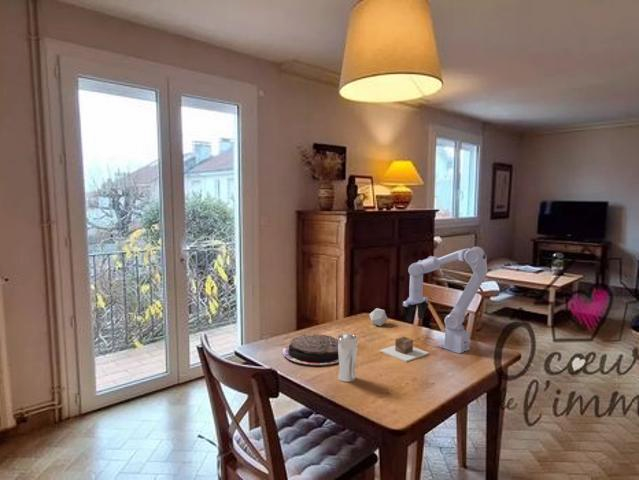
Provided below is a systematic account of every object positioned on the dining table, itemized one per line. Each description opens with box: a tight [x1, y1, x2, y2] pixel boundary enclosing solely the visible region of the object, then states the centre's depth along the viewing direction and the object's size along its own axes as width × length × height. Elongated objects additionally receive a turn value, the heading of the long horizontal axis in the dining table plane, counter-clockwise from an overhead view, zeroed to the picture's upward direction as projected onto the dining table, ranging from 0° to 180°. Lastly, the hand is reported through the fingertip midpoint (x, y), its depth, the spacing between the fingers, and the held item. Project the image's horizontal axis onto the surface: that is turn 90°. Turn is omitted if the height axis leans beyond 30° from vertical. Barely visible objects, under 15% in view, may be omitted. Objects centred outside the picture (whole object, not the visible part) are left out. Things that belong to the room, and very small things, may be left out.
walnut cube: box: [394, 336, 414, 354], centre depth 172 cm, size 5×5×5 cm
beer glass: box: [337, 333, 358, 383], centre depth 146 cm, size 7×7×15 cm
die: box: [369, 307, 389, 327], centre depth 209 cm, size 8×9×10 cm
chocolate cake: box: [282, 333, 339, 368], centre depth 170 cm, size 28×28×7 cm
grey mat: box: [379, 344, 430, 363], centre depth 172 cm, size 14×14×1 cm
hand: (415, 319), depth 185 cm, fingers open, 7 cm apart
